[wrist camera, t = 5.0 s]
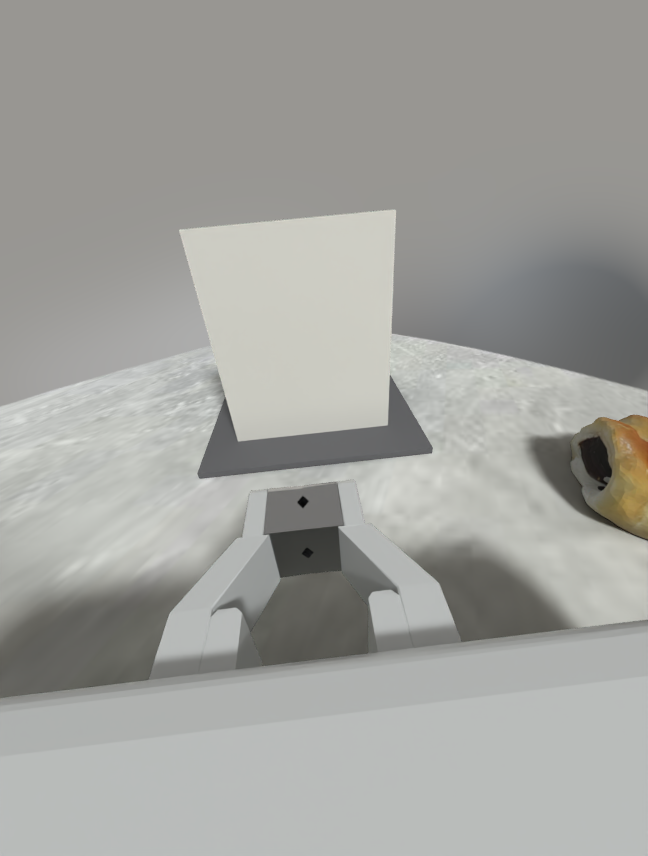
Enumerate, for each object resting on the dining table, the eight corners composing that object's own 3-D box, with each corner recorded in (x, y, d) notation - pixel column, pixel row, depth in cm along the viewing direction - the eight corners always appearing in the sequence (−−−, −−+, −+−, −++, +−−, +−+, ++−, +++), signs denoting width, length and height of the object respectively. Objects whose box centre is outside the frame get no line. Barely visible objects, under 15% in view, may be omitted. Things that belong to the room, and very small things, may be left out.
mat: (432, 453, 20) (432, 447, 19) (199, 478, 19) (197, 473, 19) (372, 348, 35) (372, 344, 34) (240, 362, 34) (239, 358, 34)
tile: (387, 425, 22) (395, 209, 15) (238, 441, 22) (179, 230, 15) (382, 412, 23) (387, 209, 17) (241, 427, 23) (189, 228, 16)
